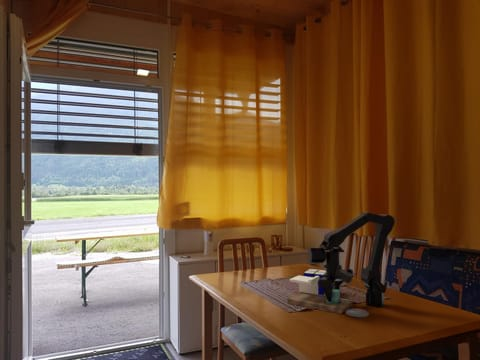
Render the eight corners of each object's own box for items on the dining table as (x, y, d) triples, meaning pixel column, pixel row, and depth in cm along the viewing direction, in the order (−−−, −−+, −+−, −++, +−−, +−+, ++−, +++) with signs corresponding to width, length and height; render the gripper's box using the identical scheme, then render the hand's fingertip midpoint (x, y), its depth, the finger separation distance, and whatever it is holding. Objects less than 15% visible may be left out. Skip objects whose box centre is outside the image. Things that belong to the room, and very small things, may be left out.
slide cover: (320, 294, 164) (320, 275, 164) (311, 299, 156) (310, 280, 156) (300, 290, 170) (299, 272, 170) (289, 295, 161) (289, 276, 162)
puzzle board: (352, 305, 157) (352, 299, 157) (340, 313, 145) (340, 308, 145) (301, 295, 171) (301, 290, 171) (287, 303, 159) (287, 298, 159)
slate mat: (371, 312, 147) (371, 311, 147) (364, 319, 139) (364, 317, 139) (349, 308, 152) (349, 307, 152) (341, 314, 145) (341, 313, 145)
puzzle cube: (303, 293, 175) (303, 272, 175) (309, 288, 184) (309, 268, 184) (324, 296, 170) (323, 274, 171) (329, 291, 179) (329, 270, 179)
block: (339, 306, 155) (339, 289, 155) (336, 309, 151) (336, 292, 152) (330, 304, 157) (329, 288, 158) (326, 307, 154) (326, 290, 154)
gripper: (343, 268, 143) (343, 308, 142) (358, 261, 158) (358, 297, 157) (316, 265, 149) (317, 303, 149) (333, 258, 164) (334, 293, 164)
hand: (333, 299), depth 155 cm, fingers open, 7 cm apart
